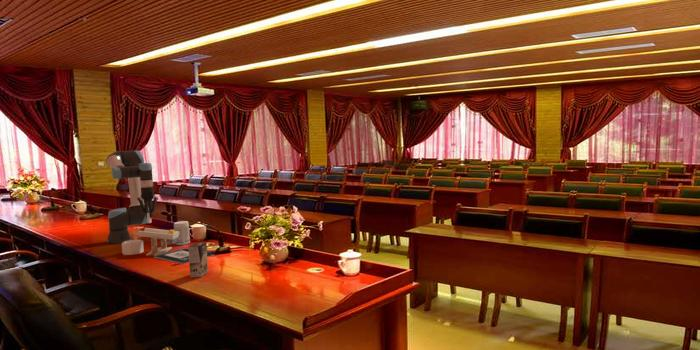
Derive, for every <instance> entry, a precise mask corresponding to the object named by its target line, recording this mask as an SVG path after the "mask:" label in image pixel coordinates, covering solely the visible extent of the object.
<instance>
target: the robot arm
mask: <svg viewBox="0 0 700 350" xmlns="http://www.w3.org/2000/svg"><path fill="white" fill-rule="evenodd" d="M143 155H144V154H143V153H142V151H140V150H117V151H114V152H112V153H110V154H109V155H108V156H107V157H106V159H105V163H106V165H107V167H108V168H110V169H111V171H110V172H111V177H112V179H114V180H121V179H123V180H124V179H127V180H128V181H127V182H128V189H129V190H128V191H129V196H130V197H129V198H130V205H129V206H128V209H127V207H118V208H114V209H111V210H109V211H108V213H107V214H108V215H107V219H108V229H109V230H108V232H109V233H108V236H107V241H106V242H107V244H109V245H115V244H122V242H125V241H129V240H132V237H131V233H130V232H129V229H128V226H136V225H143V224H144V225H145V224H151V223H152V218H153V213H154V212H156V208H157V207H156V206H157V201H158V199H159V196H156V195H155V193H154V192H155V191H154V182H153V181H154V180H153V179H154V178H153V165H152V163H151V162H145V159H144V158H145V157H144V156H143Z"/></svg>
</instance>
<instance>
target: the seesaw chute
mask: <svg viewBox="0 0 700 350" xmlns="http://www.w3.org/2000/svg"><path fill="white" fill-rule="evenodd" d="M169 230H170V229H158V228H152V227H151V228H149V227H144V230H138V231H137V236H138V237H146V238H156V237H157V240H159V239H160V240H161V239H166V240H167V245H174V244H175V242H177V237H179V231H175V233H173V234H168V231H169Z"/></svg>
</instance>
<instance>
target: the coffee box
mask: <svg viewBox="0 0 700 350" xmlns="http://www.w3.org/2000/svg"><path fill="white" fill-rule="evenodd" d="M207 248H208V247H207V241H204V242H203V241H201V242H193V243H192V244H190V245H189V246H188V249H189V263H188V264H189V276H190V278H203V277H204V276H205V275H206V274H207V273H208V272H209V266H208V265H209V263H208V257H207V253H208V250H207Z"/></svg>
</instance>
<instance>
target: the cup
mask: <svg viewBox="0 0 700 350" xmlns="http://www.w3.org/2000/svg"><path fill="white" fill-rule="evenodd" d="M121 251H122V252H121V253H122V255H123V256H133V255H138V254H141V253H144V251H145V250H144V240H143V239H131V240H129V241H125V242H122V243H121Z"/></svg>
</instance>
